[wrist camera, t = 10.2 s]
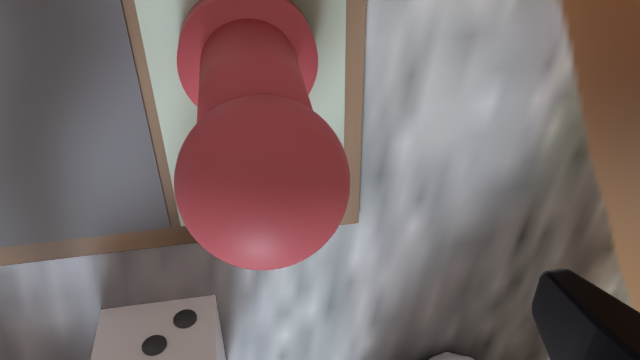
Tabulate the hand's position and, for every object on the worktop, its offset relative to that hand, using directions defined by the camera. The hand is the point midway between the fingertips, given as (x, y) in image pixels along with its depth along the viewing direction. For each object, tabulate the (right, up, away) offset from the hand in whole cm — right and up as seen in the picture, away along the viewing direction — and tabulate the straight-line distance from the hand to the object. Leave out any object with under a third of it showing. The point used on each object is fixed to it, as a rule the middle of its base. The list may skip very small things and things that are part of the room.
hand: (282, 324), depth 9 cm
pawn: (-2, +7, +9) cm, 12 cm away
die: (-7, -5, +17) cm, 19 cm away
